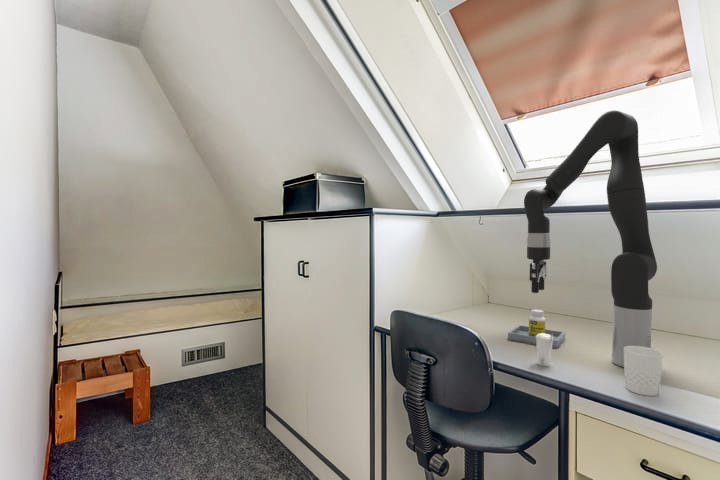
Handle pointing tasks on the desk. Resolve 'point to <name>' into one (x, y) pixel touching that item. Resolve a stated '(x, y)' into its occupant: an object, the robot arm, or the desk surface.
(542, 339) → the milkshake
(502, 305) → the desk surface
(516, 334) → the tray
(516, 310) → the desk surface
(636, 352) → the white cup
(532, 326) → the supplement bottle
